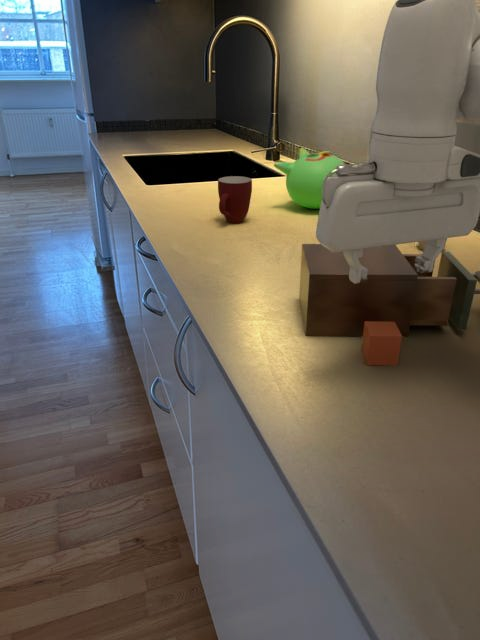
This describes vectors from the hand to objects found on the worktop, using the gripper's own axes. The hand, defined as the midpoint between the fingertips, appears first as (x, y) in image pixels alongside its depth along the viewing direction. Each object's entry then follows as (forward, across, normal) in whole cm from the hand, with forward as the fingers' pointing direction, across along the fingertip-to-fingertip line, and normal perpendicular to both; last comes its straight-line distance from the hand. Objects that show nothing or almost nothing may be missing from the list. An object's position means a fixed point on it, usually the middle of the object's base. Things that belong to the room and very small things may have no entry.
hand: (390, 276), depth 63 cm
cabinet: (+12, +3, +12) cm, 17 cm away
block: (+12, 0, 0) cm, 12 cm away
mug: (+12, +3, +66) cm, 67 cm away
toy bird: (+12, +28, +72) cm, 78 cm away
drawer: (+11, +13, +8) cm, 19 cm away
